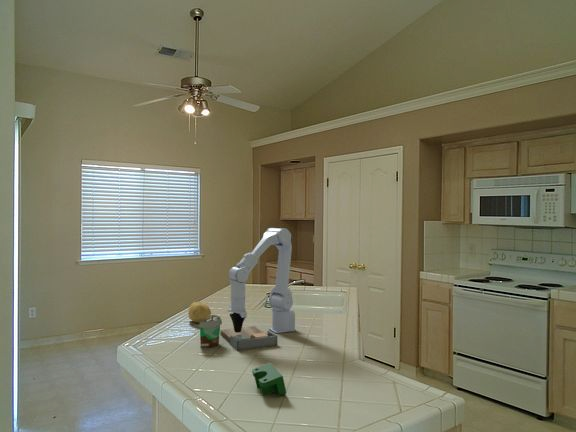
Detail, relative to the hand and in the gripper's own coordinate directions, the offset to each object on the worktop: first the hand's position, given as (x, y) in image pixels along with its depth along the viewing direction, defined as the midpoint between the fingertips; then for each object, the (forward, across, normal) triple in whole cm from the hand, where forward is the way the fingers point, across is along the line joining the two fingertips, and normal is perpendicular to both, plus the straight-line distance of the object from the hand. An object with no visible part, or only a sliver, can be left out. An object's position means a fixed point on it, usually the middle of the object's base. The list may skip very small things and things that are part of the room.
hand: (237, 331), depth 167 cm
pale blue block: (+3, +7, 0) cm, 7 cm away
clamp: (+3, +49, -8) cm, 50 cm away
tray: (+3, +9, +3) cm, 10 cm away
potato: (+3, -34, -6) cm, 35 cm away
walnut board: (+3, -3, +4) cm, 6 cm away
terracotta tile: (+3, +7, +7) cm, 10 cm away
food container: (+3, +2, -10) cm, 11 cm away
